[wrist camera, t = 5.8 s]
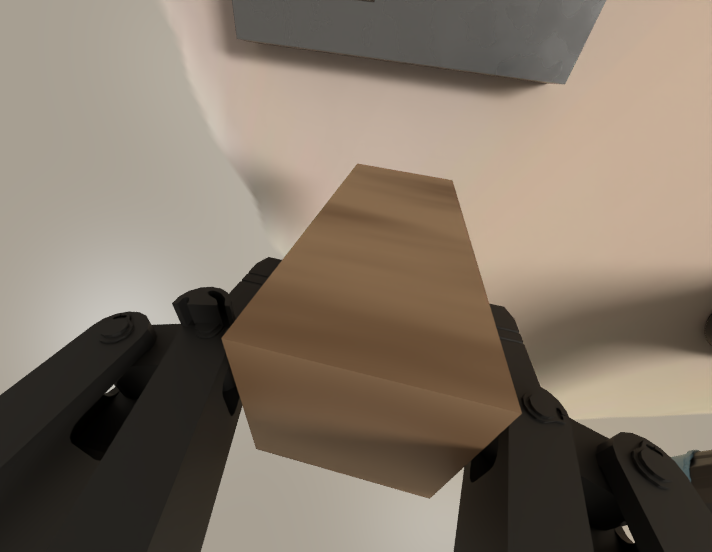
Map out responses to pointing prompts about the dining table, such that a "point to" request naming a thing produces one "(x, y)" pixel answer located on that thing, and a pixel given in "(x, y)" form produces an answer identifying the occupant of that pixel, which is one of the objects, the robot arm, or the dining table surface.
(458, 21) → the steel rail
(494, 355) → the walnut block
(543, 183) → the dining table surface
